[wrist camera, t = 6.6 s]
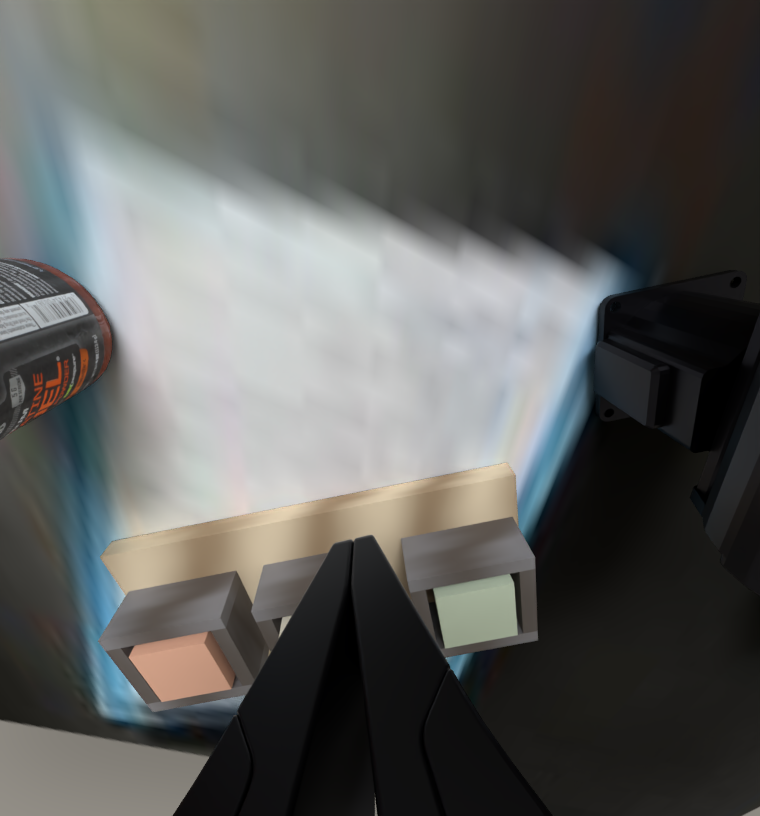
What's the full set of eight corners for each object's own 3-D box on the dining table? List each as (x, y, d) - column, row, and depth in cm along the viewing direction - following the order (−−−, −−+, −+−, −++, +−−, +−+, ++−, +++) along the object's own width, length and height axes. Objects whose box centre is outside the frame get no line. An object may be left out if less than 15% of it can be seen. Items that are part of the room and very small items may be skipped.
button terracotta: (220, 596, 23) (204, 643, 20) (244, 640, 24) (231, 688, 22) (153, 609, 23) (128, 657, 20) (181, 652, 24) (161, 702, 22)
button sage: (495, 542, 22) (514, 583, 20) (500, 591, 24) (517, 634, 21) (426, 556, 22) (435, 598, 20) (435, 603, 24) (445, 648, 21)
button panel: (507, 462, 22) (539, 511, 18) (517, 607, 27) (544, 669, 23) (112, 541, 23) (62, 605, 19) (193, 668, 28) (168, 738, 24)
